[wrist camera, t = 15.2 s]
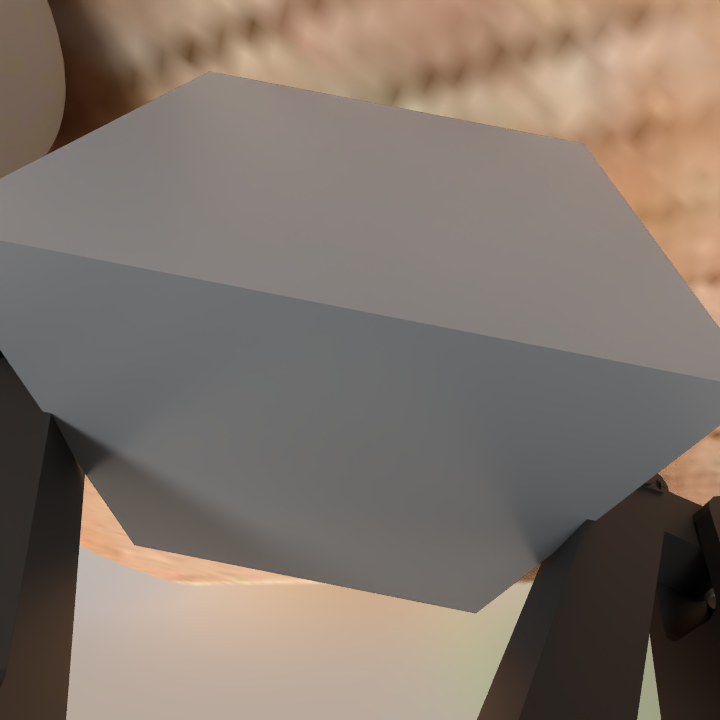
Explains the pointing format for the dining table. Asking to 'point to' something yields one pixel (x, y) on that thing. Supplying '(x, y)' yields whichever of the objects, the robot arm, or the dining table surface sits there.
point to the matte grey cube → (348, 336)
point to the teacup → (29, 83)
